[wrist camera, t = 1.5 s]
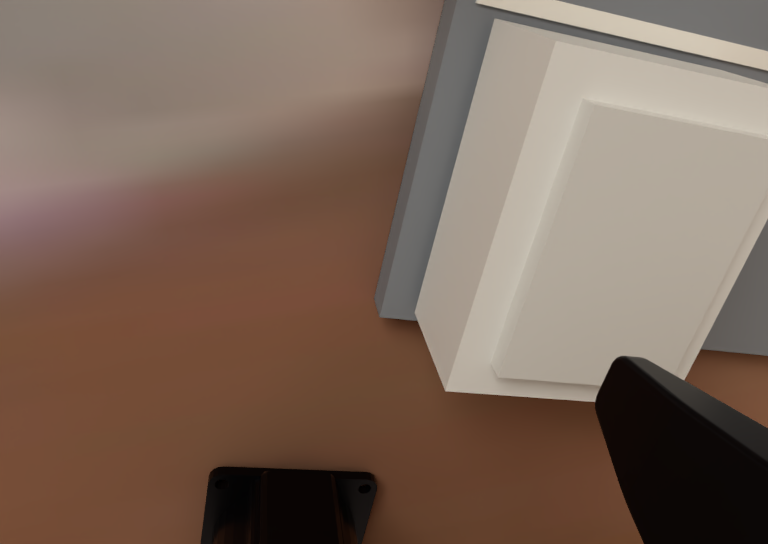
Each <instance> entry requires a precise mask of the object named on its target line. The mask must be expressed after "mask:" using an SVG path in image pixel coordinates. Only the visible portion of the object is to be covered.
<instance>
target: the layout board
mask: <svg viewBox="0 0 768 544" xmlns="http://www.w3.org/2000/svg"><path fill="white" fill-rule="evenodd" d="M494 19H500V20H504V21H509V22H513V23H517V24H522V25H526V26H530V27H535V28H539V29H544V30H548V31H552V32H557V33H561V34H566V35H570V36H574V37H579V38H583V39H588V40H592V41H596V42H601V43H605V44H610V45H614V46H618V47H623V48H627V49H632V50H636V51H640V52H645V53H649V54H654V55H658V56H662V57H667V58H671V59H676V60H680V61H684V62H689V63H693V64H698V65H702V66H706V67H711V68H715V69H720V70H723V71H726V72H730V73H733V74H737V75H740V76H743V77H747V78H750V79H753V80H757V81H760V82H764V83H767V84H768V0H445V1H444V5H443V10H442V14H441V18H440V22H439V27H438V31H437V35H436V39H435V44H434V48H433V52H432V56H431V60H430V65H429V69H428V73H427V77H426V82H425V86H424V90H423V94H422V99H421V103H420V107H419V111H418V115H417V120H416V124H415V128H414V132H413V137H412V141H411V145H410V149H409V153H408V158H407V162H406V166H405V170H404V175H403V179H402V183H401V187H400V192H399V196H398V200H397V204H396V208H395V213H394V217H393V221H392V225H391V230H390V234H389V238H388V242H387V247H386V251H385V255H384V259H383V263H382V268H381V272H380V276H379V280H378V285H377V289H376V293H375V297H374V300H375V303H376V307H377V310H378V313H379V317H383V318H393V319H403V320H413V321H418V320H417V318H416V315H415V309H416V306H417V302H418V298H419V295H420V291H421V287H422V284H423V280H424V276H425V273H426V269H427V265H428V262H429V258H430V254H431V251H432V247H433V243H434V239H435V236H436V232H437V228H438V225H439V221H440V217H441V214H442V210H443V206H444V203H445V199H446V195H447V192H448V188H449V184H450V181H451V177H452V173H453V170H454V166H455V162H456V158H457V155H458V151H459V147H460V144H461V140H462V136H463V133H464V129H465V125H466V122H467V118H468V114H469V111H470V107H471V103H472V100H473V96H474V92H475V89H476V85H477V81H478V77H479V74H480V70H481V66H482V63H483V59H484V55H485V52H486V48H487V44H488V41H489V37H490V33H491V30H492V26H493V22H494ZM701 349H705V350H715V351H725V352H735V353H745V354H755V355H765V356H768V219H767V221H766V223H765V225H764V227H763V229H762V231H761V233H760V235H759V237H758V239H757V240H756V242H755V244H754V246H753V248H752V250H751V252H750V254H749V256H748V258H747V260H746V262H745V264H744V266H743V268H742V270H741V271H740V273H739V275H738V277H737V279H736V281H735V283H734V285H733V287H732V289H731V291H730V293H729V295H728V297H727V299H726V300H725V302H724V304H723V306H722V308H721V310H720V312H719V314H718V316H717V318H716V320H715V322H714V324H713V326H712V328H711V330H710V331H709V333H708V335H707V337H706V339H705V341H704V343H703V345H702V347H701Z"/></svg>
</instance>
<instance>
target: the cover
mask: <svg viewBox="0 0 768 544" xmlns="http://www.w3.org/2000/svg"><path fill="white" fill-rule="evenodd" d="M767 219H768V84H767V83H764V82H760V81H757V80H753V79H750V78H747V77H743V76H740V75H737V74H733V73H730V72H726V71H723V70H720V69H715V68H711V67H706V66H702V65H698V64H693V63H689V62H684V61H680V60H676V59H671V58H667V57H662V56H658V55H654V54H649V53H645V52H640V51H636V50H632V49H627V48H623V47H618V46H614V45H610V44H605V43H601V42H596V41H592V40H588V39H583V38H579V37H574V36H570V35H566V34H561V33H557V32H552V31H548V30H544V29H539V28H535V27H530V26H526V25H522V24H517V23H513V22H509V21H504V20H500V19H494V22H493V26H492V30H491V33H490V37H489V41H488V44H487V48H486V52H485V55H484V59H483V63H482V66H481V70H480V74H479V77H478V81H477V85H476V89H475V92H474V96H473V100H472V103H471V107H470V111H469V114H468V118H467V122H466V125H465V129H464V133H463V136H462V140H461V144H460V147H459V151H458V155H457V158H456V162H455V166H454V170H453V173H452V177H451V181H450V184H449V188H448V192H447V195H446V199H445V203H444V206H443V210H442V214H441V217H440V221H439V225H438V228H437V232H436V236H435V239H434V243H433V247H432V251H431V254H430V258H429V262H428V265H427V269H426V273H425V276H424V280H423V284H422V287H421V291H420V295H419V298H418V302H417V306H416V309H415V315H416V318H417V320H418V323H419V325H420V328H421V330H422V333H423V336H424V338H425V341H426V343H427V346H428V348H429V351H430V353H431V356H432V359H433V361H434V364H435V366H436V369H437V371H438V374H439V376H440V379H441V382H442V384H443V387H444V389H445V391H450V392H463V393H477V394H491V395H505V396H519V397H533V398H547V399H561V400H575V401H588V402H595V400H596V396H597V393H598V391H599V389H600V387H601V385H602V383H603V381H604V379H605V377H606V374H607V372H608V370H609V368H610V366H611V364H612V362H613V361H614V360H615V359H616V358H617V357H619V356H633V357H642V358H645V359H647V360H649V361H651V362H653V363H654V364H656V365H658V366H660V367H661V368H663V369H665V370H667V371H668V372H670V373H672V374H674V375H675V376H677V377H679V378H681V379H682V380H685V378H686V376H687V374H688V372H689V370H690V368H691V366H692V364H693V362H694V360H695V359H696V357H697V355H698V353H699V351H700V349H701V347H702V345H703V343H704V341H705V339H706V337H707V335H708V333H709V331H710V330H711V328H712V326H713V324H714V322H715V320H716V318H717V316H718V314H719V312H720V310H721V308H722V306H723V304H724V302H725V300H726V299H727V297H728V295H729V293H730V291H731V289H732V287H733V285H734V283H735V281H736V279H737V277H738V275H739V273H740V271H741V270H742V268H743V266H744V264H745V262H746V260H747V258H748V256H749V254H750V252H751V250H752V248H753V246H754V244H755V242H756V240H757V239H758V237H759V235H760V233H761V231H762V229H763V227H764V225H765V223H766V221H767Z"/></svg>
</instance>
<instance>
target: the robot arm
mask: <svg viewBox="0 0 768 544" xmlns="http://www.w3.org/2000/svg"><path fill="white" fill-rule="evenodd" d="M595 409H596V414H597V417H598V420H599V423H600V426H601V429H602V432H603V435H604V438H605V441H606V444H607V448H608V451H609V454H610V457H611V460H612V463H613V466H614V469H615V472H616V475H617V478H618V481H619V484H620V487H621V490H622V493H623V495H624V498H625V501H626V503H627V506H628V508H629V510H630V513H631V515H632V518H633V520H634V522H635V524H636V527H637V529H638V531H639V533H640V536H641V538H642V540H643V543H644V544H768V428H766V427H764V426H763V425H761V424H759V423H757V422H756V421H754V420H752V419H750V418H749V417H747V416H745V415H743V414H742V413H740V412H738V411H736V410H735V409H733V408H731V407H729V406H728V405H726V404H724V403H722V402H721V401H719V400H717V399H715V398H714V397H712V396H710V395H709V394H707V393H705V392H703V391H702V390H700V389H698V388H696V387H695V386H693V385H691V384H689V383H688V382H686V381H684V380H682V379H681V378H679V377H677V376H675V375H674V374H672V373H670V372H668V371H667V370H665V369H663V368H661V367H660V366H658V365H656V364H654V363H653V362H651V361H649V360H647V359H645V358H642V357H633V356H619V357H617V358H616V359H615V360H614V361H613V362H612V364H611V366H610V368H609V370H608V372H607V374H606V377H605V379H604V381H603V383H602V385H601V387H600V389H599V391H598V393H597V396H596V400H595ZM222 479H223V480H226V481H218V480H222ZM364 484H367V485H365V486H361V485H364ZM376 491H377V484H376V479H375V477H374V475H373V474H371V473H368V472H350V471H324V470H297V469H271V468H245V467H218V468H216V469H214V470H212V471H211V472H210V475H209V480H208V488H207V496H206V504H205V512H204V521H203V529H202V537H201V544H362V540H363V537H364V533H365V530H366V526H367V523H368V519H369V515H370V512H371V508H372V505H373V501H374V498H375V494H376Z"/></svg>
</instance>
